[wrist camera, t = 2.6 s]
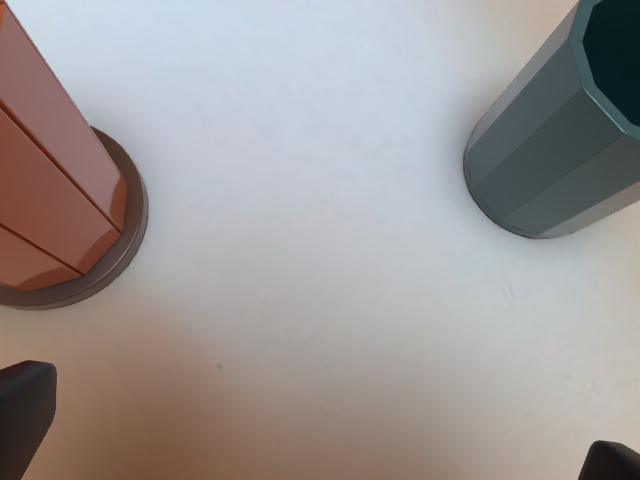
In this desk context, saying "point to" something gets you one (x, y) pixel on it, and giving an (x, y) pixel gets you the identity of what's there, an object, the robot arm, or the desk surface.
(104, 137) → the towel holder
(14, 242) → the fluted orange cylinder
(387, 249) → the desk surface
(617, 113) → the teal cup
